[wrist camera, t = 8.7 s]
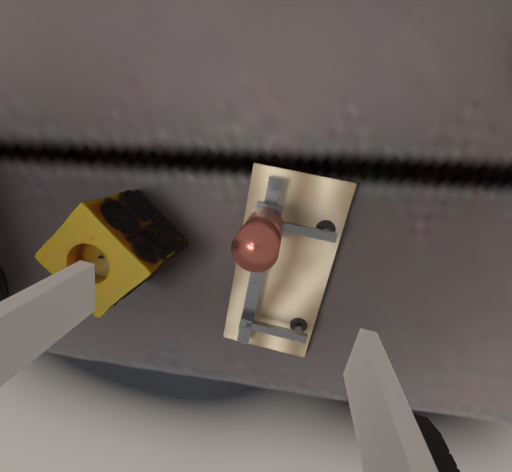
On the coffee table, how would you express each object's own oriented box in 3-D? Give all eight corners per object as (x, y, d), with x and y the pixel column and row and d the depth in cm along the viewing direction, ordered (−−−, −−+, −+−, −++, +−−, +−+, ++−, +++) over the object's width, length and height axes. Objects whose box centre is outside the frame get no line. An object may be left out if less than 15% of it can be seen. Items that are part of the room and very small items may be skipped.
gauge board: (225, 331, 41) (223, 337, 40) (255, 162, 33) (253, 163, 32) (304, 351, 40) (304, 357, 39) (354, 182, 32) (356, 183, 31)
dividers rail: (238, 335, 40) (234, 348, 37) (270, 175, 32) (268, 177, 30) (299, 350, 39) (299, 364, 36) (345, 190, 31) (349, 194, 29)
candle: (190, 242, 38) (155, 274, 28) (144, 282, 41) (99, 323, 31) (138, 185, 36) (82, 198, 27) (94, 231, 39) (30, 257, 30)
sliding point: (249, 231, 34) (227, 268, 24) (255, 197, 33) (235, 220, 22) (328, 249, 34) (343, 295, 23) (338, 214, 32) (359, 247, 21)
